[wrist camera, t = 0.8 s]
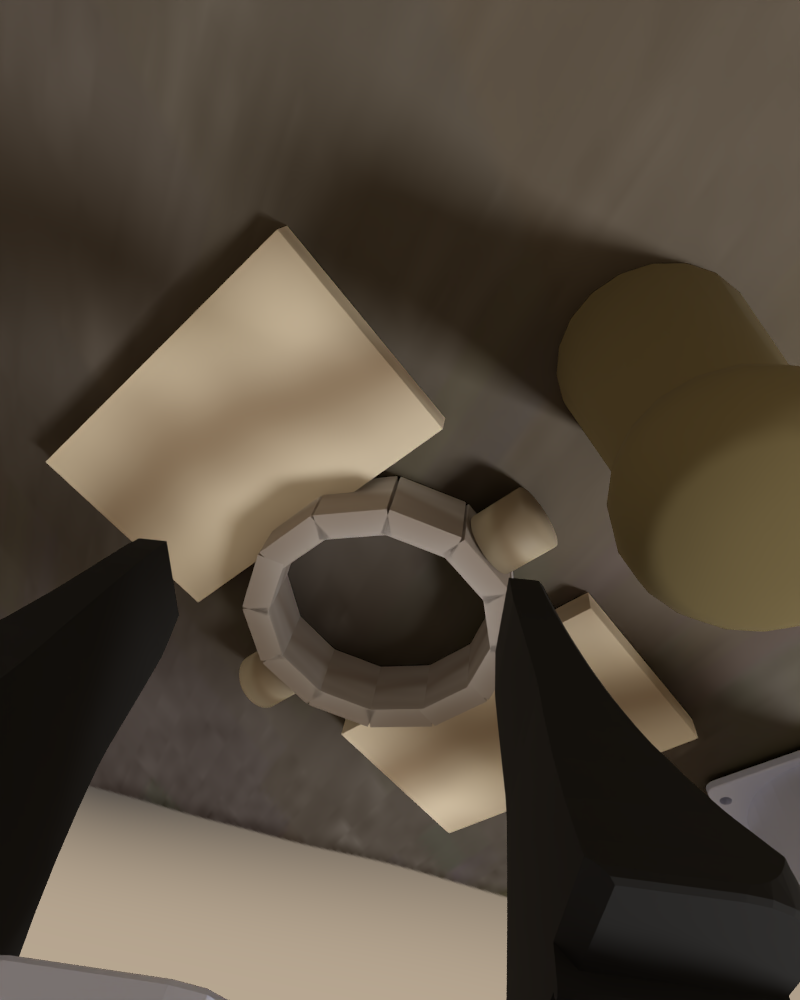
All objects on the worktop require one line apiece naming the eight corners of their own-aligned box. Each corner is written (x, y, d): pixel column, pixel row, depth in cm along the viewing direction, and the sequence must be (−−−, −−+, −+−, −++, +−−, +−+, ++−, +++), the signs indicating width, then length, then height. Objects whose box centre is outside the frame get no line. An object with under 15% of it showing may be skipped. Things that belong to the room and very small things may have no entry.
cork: (521, 399, 22) (533, 596, 12) (627, 224, 19) (752, 305, 9) (675, 477, 22) (802, 725, 13) (802, 319, 19) (1092, 488, 10)
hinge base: (707, 713, 27) (725, 762, 25) (439, 819, 33) (434, 866, 31) (302, 210, 20) (277, 218, 18) (51, 460, 26) (9, 489, 24)
